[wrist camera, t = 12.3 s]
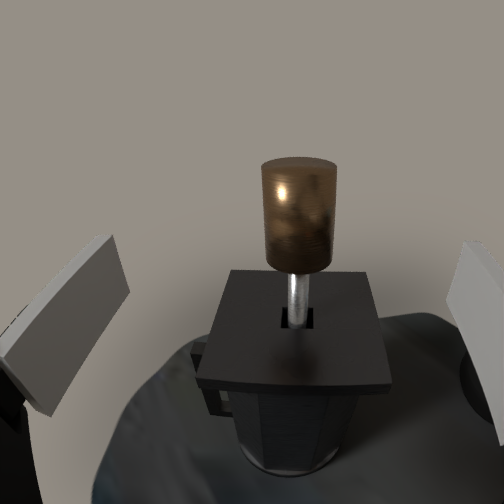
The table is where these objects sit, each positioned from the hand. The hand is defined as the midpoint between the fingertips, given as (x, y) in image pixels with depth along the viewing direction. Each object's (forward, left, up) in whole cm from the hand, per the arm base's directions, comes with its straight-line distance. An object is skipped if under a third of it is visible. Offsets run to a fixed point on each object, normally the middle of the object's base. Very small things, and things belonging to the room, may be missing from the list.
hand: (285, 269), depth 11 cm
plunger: (0, -6, -20) cm, 20 cm away
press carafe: (+1, -6, -23) cm, 24 cm away
